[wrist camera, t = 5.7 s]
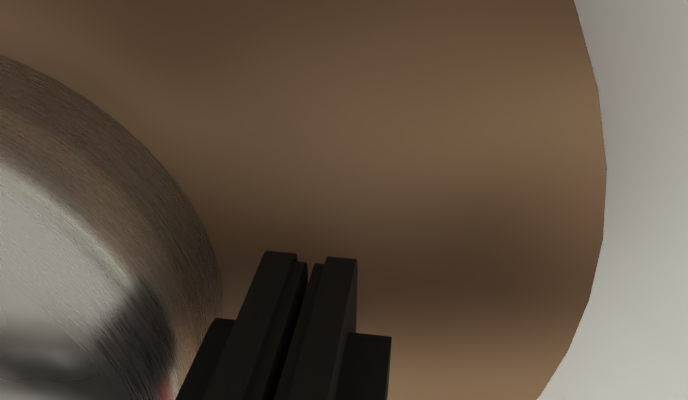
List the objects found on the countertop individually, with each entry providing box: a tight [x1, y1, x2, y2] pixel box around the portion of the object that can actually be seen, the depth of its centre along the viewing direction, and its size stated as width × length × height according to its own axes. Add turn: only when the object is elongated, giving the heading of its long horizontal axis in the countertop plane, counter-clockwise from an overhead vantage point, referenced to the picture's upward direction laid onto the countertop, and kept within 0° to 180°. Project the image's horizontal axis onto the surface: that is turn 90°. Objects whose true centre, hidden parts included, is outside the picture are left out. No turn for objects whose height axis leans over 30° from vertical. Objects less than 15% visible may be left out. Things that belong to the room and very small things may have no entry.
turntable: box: [0, 0, 607, 400], centre depth 11 cm, size 22×22×7 cm
